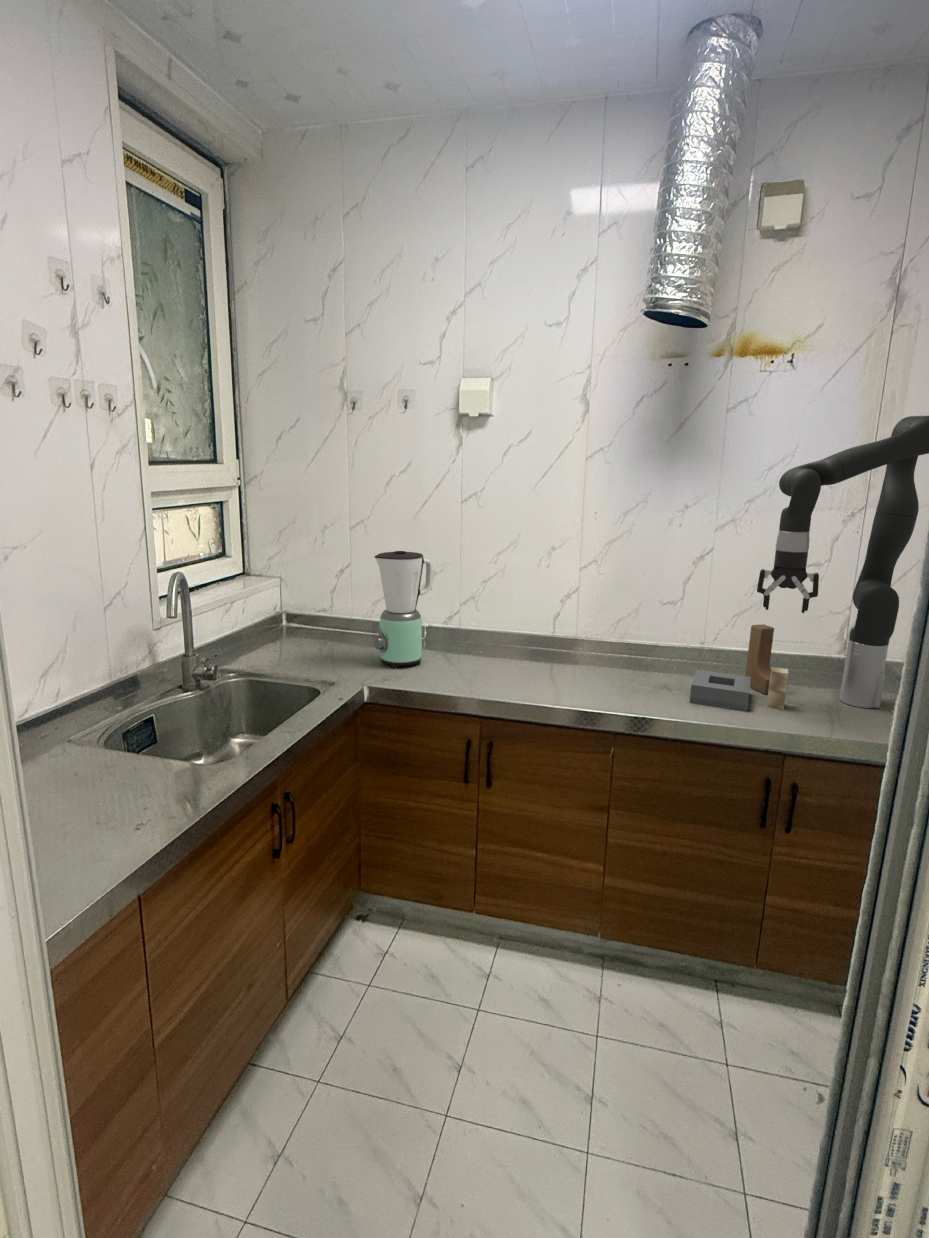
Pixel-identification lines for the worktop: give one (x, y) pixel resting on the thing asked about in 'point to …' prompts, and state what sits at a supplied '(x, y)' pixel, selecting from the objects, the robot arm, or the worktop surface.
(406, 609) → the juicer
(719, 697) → the socket stand
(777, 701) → the beech peg
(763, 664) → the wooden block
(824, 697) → the worktop surface
